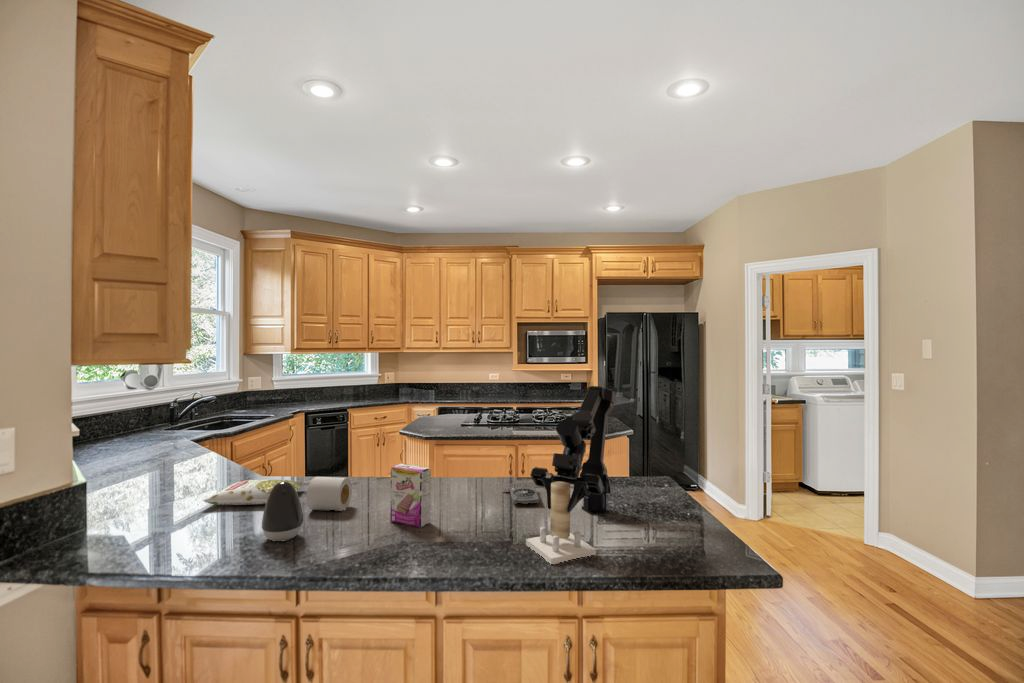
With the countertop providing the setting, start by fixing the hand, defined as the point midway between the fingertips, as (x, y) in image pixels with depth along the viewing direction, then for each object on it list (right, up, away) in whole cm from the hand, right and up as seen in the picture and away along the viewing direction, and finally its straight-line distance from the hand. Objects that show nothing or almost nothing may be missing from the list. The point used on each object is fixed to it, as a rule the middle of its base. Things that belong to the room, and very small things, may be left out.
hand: (558, 509), depth 127 cm
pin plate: (+1, -11, +1) cm, 11 cm away
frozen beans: (-97, -10, +39) cm, 105 cm away
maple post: (+1, -7, +1) cm, 7 cm away
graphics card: (-9, -11, +42) cm, 45 cm away
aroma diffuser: (-74, -10, +7) cm, 75 cm away
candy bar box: (-42, -10, +19) cm, 47 cm away
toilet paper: (-69, -10, +30) cm, 77 cm away
